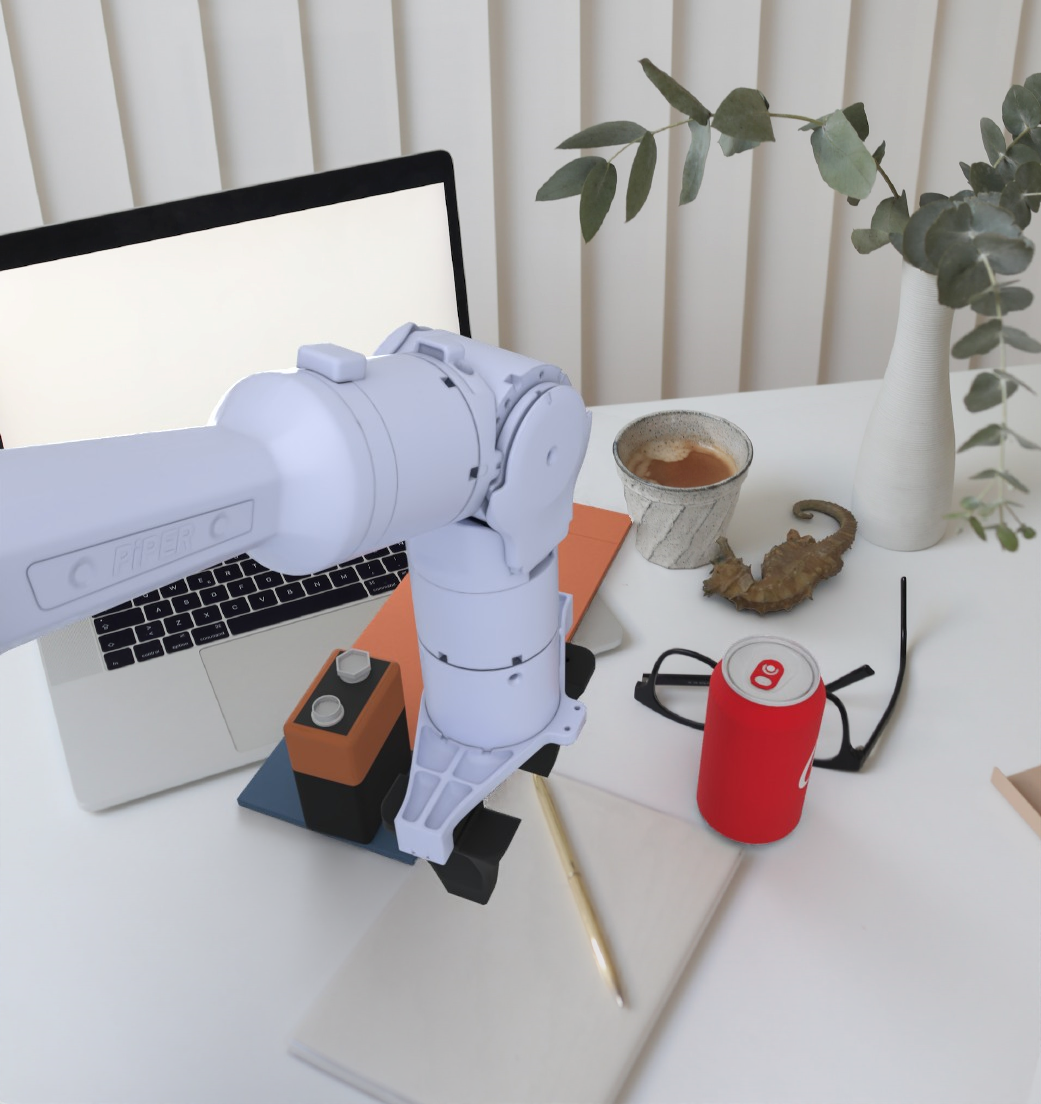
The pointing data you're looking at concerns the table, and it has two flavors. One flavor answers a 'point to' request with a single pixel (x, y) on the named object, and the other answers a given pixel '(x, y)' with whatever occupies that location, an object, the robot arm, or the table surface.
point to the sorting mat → (396, 640)
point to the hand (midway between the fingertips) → (501, 826)
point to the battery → (349, 744)
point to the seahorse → (784, 565)
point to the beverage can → (760, 738)
